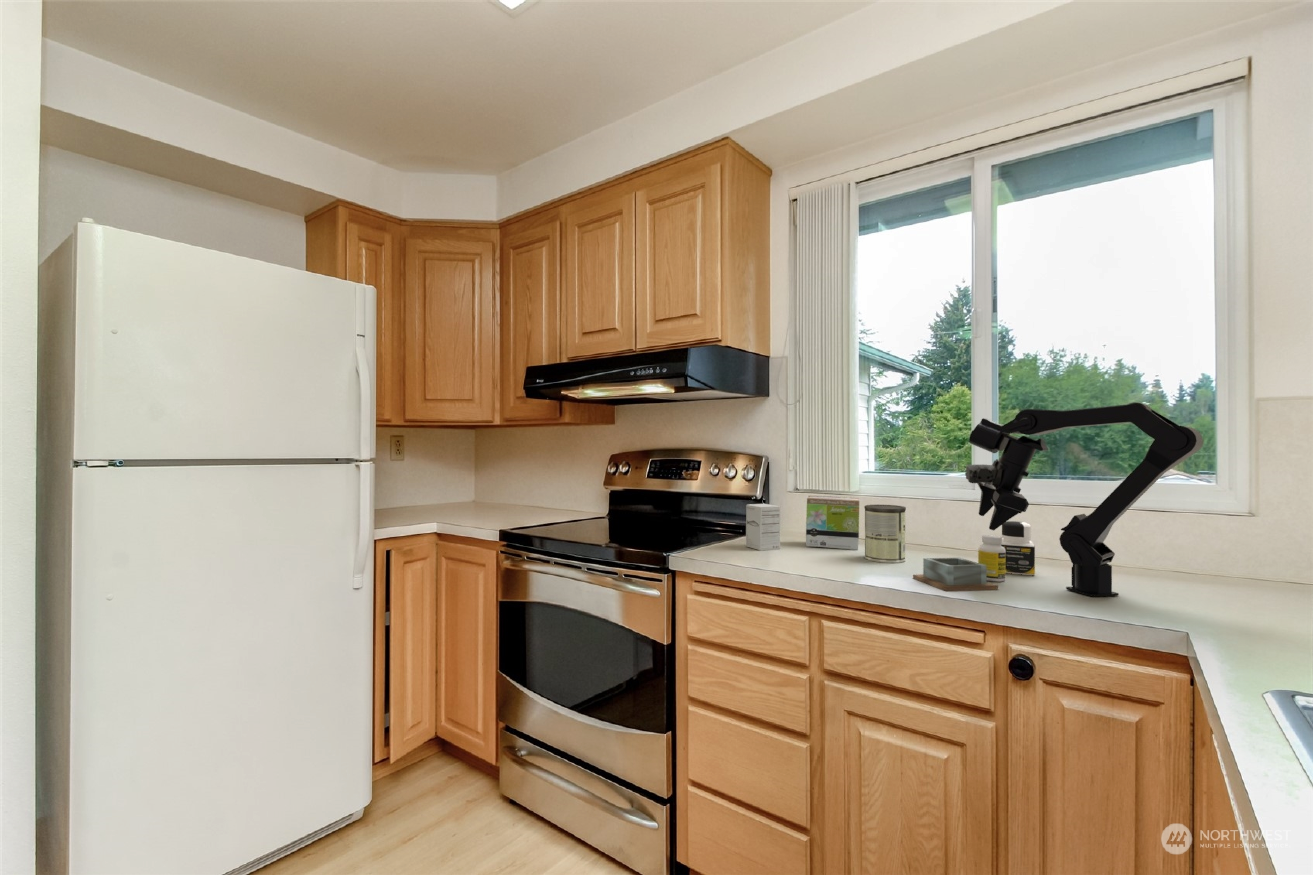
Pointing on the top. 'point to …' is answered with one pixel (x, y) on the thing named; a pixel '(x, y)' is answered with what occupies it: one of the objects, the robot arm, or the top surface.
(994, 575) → the supplement bottle
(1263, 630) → the top surface
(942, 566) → the socket board
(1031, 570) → the medicine bottle
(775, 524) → the supplement box
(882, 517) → the coffee can
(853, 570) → the top surface
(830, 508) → the tea box
